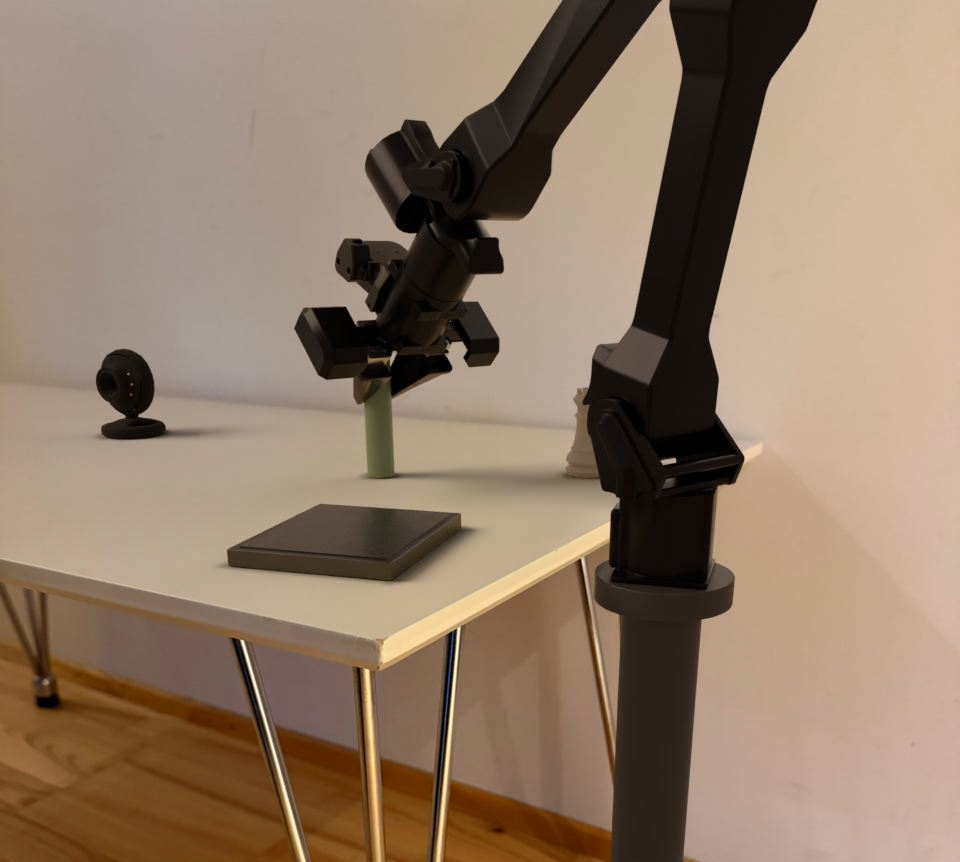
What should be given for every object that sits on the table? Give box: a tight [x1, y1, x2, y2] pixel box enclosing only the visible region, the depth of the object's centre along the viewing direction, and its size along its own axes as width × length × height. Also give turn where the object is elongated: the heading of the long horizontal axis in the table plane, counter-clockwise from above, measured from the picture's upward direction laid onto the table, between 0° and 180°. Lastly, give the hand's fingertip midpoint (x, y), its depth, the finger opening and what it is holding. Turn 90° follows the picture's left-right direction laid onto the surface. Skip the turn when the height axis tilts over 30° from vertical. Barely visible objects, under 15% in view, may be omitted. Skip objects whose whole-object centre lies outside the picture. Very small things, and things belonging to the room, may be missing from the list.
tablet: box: [226, 503, 462, 581], centre depth 71 cm, size 12×14×1 cm
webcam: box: [95, 348, 167, 440], centre depth 118 cm, size 8×8×10 cm
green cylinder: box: [363, 358, 396, 479], centre depth 92 cm, size 3×3×13 cm
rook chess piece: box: [564, 386, 599, 479], centre depth 93 cm, size 4×4×8 cm
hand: (370, 399), depth 93 cm, fingers closed on green cylinder, 2 cm apart
